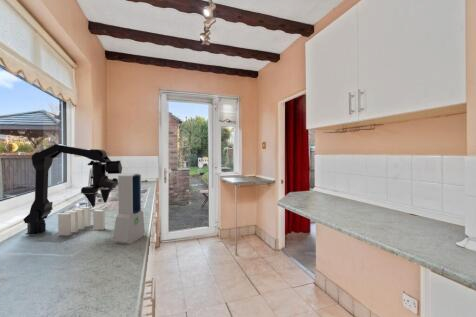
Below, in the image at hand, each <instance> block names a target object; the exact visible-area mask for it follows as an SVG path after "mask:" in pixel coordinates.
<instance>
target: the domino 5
mask: <svg viewBox="0 0 476 317" xmlns="http://www.w3.org/2000/svg"><path fill="white" fill-rule="evenodd" d="M92 213H93V215H92V216H93V218H92V220H93V224H92V225H93V228H92V229H93V230H95V231H96V230H99V231H100V230H101V231H104V230H105V229H106V227H105V226H106V225H105V224H106V222H105V221H106V218H105V217H106V214H105V213H106V212H105V210H103V209H102V210H101V209H98V210H97V209H95V210H93V211H92Z"/></svg>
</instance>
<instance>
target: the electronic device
mask: <svg viewBox="0 0 476 317" xmlns="http://www.w3.org/2000/svg"><path fill="white" fill-rule="evenodd" d="M117 177H118V178H117V179H118V185H117V186H118V189H117V190H118V193H117V194H118V196H117V197H118V213H117V215H116V217H115V221H114V222H115V223H114V229H113V235H112V238H113V240H114V242H116V244H123V245H130V244H132V243H134V242H136V241H137V240H140V239H141V238H142V237H144V234H145V219H144V218H145V217H144V211H143V210H142V174H140V173H121V174H118V176H117Z"/></svg>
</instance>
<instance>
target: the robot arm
mask: <svg viewBox="0 0 476 317" xmlns="http://www.w3.org/2000/svg"><path fill="white" fill-rule="evenodd" d="M60 154H69V155H74V156H80V157H84V158H87V159H89V160H90V162H89V163H87V166H92V176H91V175H90V179H92V183H91V184H90V185H88V186H83V187H82V188H80V193H81V194H82V195H84V196H85V198H86V199H87V201H88V202H89V204H90V205H91V206H92V207H94V208H95V206H96V199H97V198H96V197H97V195H98V194H99V190H100V193H101V197H102V201H103V203H105V204H107V202H108V199H109V195H110V194H111V192H112V191H114V189H116V187H117V186H118V178H116V177H114V178H111V179H110V178H109V176H108V175H113V174H114V175H116V174H118V175H120V174H122V171H123V166H122V162H121V160H111V159H110V157H108V156H107V152H106V150H104V149H98V148H97V149H92V148H91V149H89V148H88V149H87V148H83V147H77V146H76V147H75V146H70V145H64V144H60V143H55V144H53V145H51V146H49V147H47V148H45V149H42V150H40V151H36V152H34V153H33V154H32V155H31V163H32V166H33V168H34V171H35V184H34V186H35V187H34V190H35V191H34V201H33V202H32V203H31V206H30V210H29V213H28V214H27V215H26V216H25V217H24V218H23V219H22V220H23V221H24V222H23V223H24V224H27V232H26V233H24V235H39V234H42V233H44V232H45V233H46V232H47V231H48V229H46V228H47V227H46V225H47V224H46V219H47V218H48V216H49V215H50V214H51V212H52V210H54V209H53V201H49V198H48V194H49V193H48V191H49V172H50V168H51V167H52V164H53V161H54V159H55V158H56V157H59V155H60ZM106 173H107V174H108V175H107V174H106Z"/></svg>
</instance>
